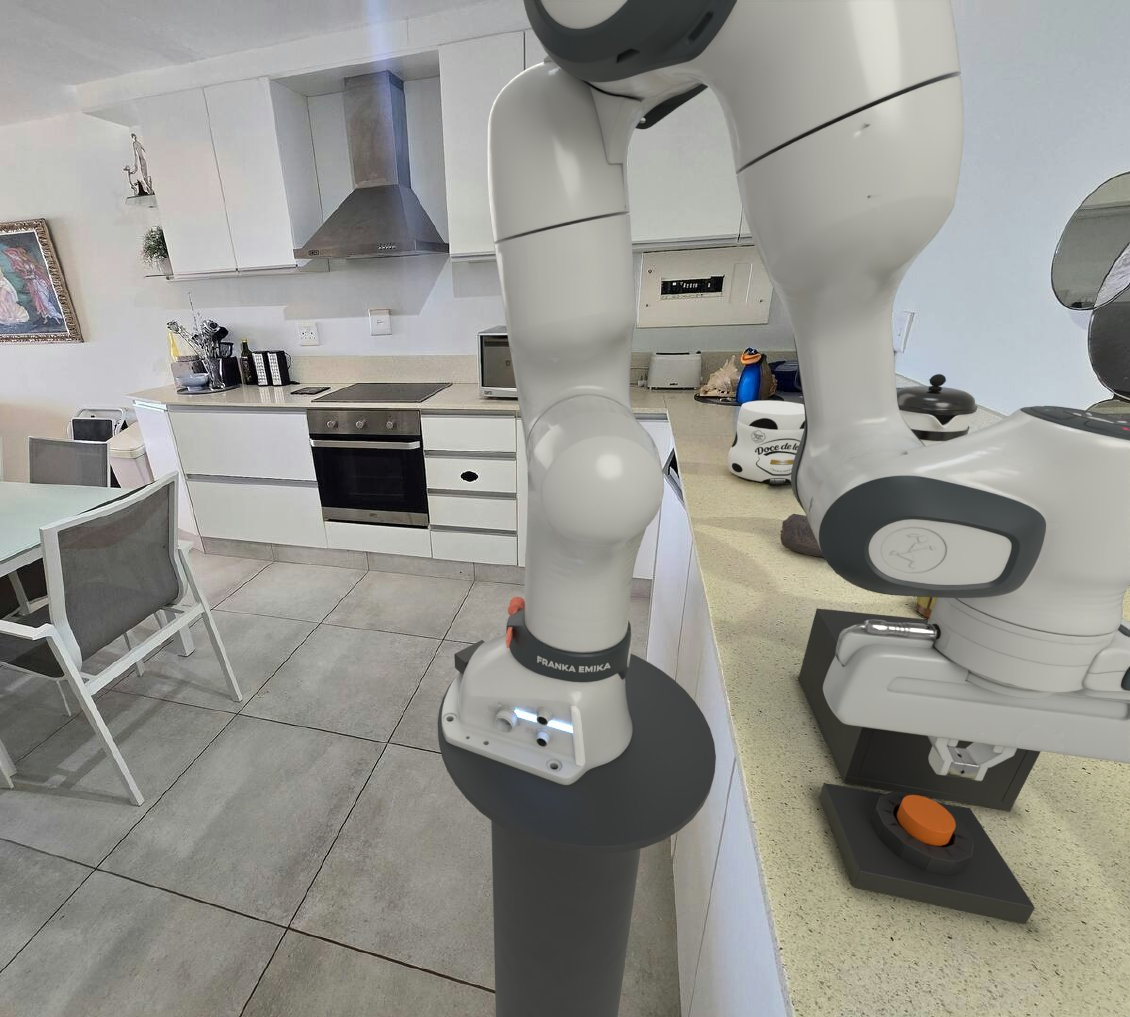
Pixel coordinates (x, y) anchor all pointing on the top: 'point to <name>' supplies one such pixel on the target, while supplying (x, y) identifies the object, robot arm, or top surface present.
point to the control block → (921, 856)
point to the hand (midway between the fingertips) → (953, 771)
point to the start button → (926, 820)
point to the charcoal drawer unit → (895, 736)
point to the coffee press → (936, 411)
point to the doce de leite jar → (766, 441)
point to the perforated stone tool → (799, 535)
